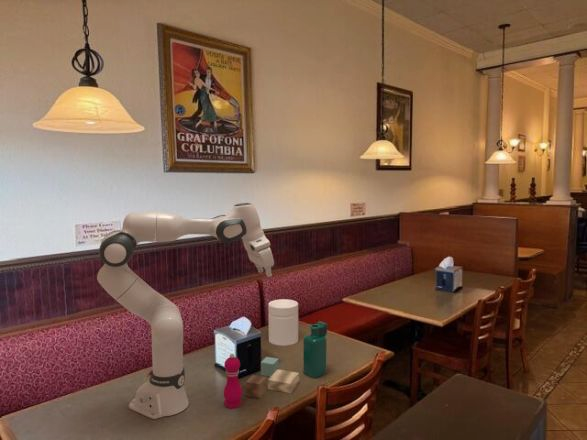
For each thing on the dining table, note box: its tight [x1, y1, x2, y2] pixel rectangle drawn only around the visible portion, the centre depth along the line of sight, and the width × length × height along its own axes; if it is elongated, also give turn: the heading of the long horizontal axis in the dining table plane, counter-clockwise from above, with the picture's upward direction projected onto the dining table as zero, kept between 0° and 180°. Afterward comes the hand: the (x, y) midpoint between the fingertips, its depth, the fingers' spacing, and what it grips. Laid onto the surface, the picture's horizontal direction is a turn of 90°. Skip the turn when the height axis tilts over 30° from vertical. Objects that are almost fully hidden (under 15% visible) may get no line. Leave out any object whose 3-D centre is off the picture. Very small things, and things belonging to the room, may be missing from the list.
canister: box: [267, 298, 299, 347], centre depth 222 cm, size 16×16×20 cm
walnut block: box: [245, 374, 267, 400], centre depth 167 cm, size 6×6×6 cm
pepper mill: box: [222, 353, 243, 409], centre depth 159 cm, size 7×7×20 cm
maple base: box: [267, 368, 300, 394], centre depth 173 cm, size 10×10×4 cm
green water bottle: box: [302, 321, 328, 379], centre depth 184 cm, size 10×8×22 cm
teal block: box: [260, 356, 280, 378], centre depth 184 cm, size 6×6×6 cm
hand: (265, 274), depth 165 cm, fingers open, 8 cm apart
